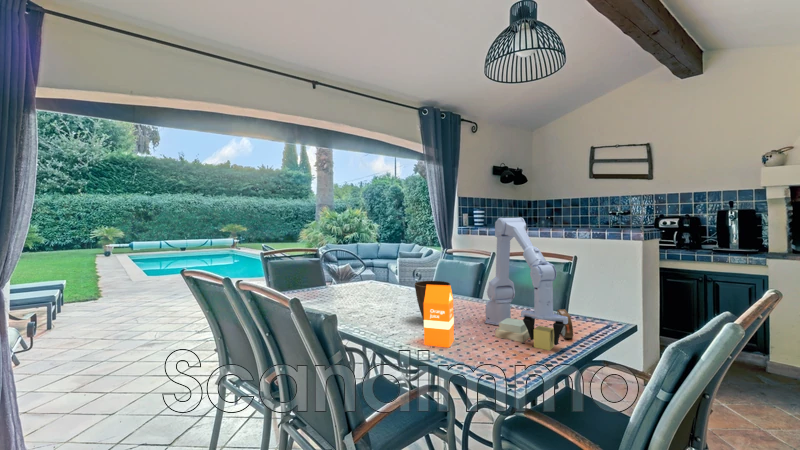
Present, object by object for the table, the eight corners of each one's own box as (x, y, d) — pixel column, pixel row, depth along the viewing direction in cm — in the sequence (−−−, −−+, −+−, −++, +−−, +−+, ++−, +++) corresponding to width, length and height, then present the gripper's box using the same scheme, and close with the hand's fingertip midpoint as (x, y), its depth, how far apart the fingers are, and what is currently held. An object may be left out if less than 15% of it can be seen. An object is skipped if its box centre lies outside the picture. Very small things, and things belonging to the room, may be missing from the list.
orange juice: (449, 347, 117) (448, 287, 117) (423, 345, 120) (422, 286, 120) (454, 340, 125) (453, 283, 125) (430, 337, 128) (429, 282, 128)
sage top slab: (499, 329, 128) (499, 322, 128) (507, 324, 134) (507, 317, 134) (521, 333, 123) (521, 326, 123) (529, 328, 129) (529, 321, 129)
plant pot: (432, 314, 159) (431, 279, 159) (458, 321, 148) (457, 283, 147) (407, 321, 149) (407, 283, 149) (433, 329, 138) (433, 288, 138)
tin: (574, 341, 121) (573, 317, 121) (564, 341, 122) (563, 316, 122) (564, 328, 136) (564, 306, 136) (556, 328, 136) (555, 306, 136)
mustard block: (533, 347, 116) (533, 329, 116) (538, 343, 120) (538, 325, 120) (549, 350, 113) (549, 332, 113) (554, 346, 117) (554, 328, 117)
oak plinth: (495, 336, 128) (495, 329, 128) (506, 329, 135) (506, 323, 135) (523, 342, 121) (522, 335, 121) (532, 334, 129) (532, 327, 129)
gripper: (517, 300, 118) (517, 340, 118) (563, 306, 109) (564, 350, 109) (524, 296, 124) (525, 335, 124) (569, 301, 114) (570, 343, 115)
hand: (544, 341), depth 117 cm, fingers open, 7 cm apart
